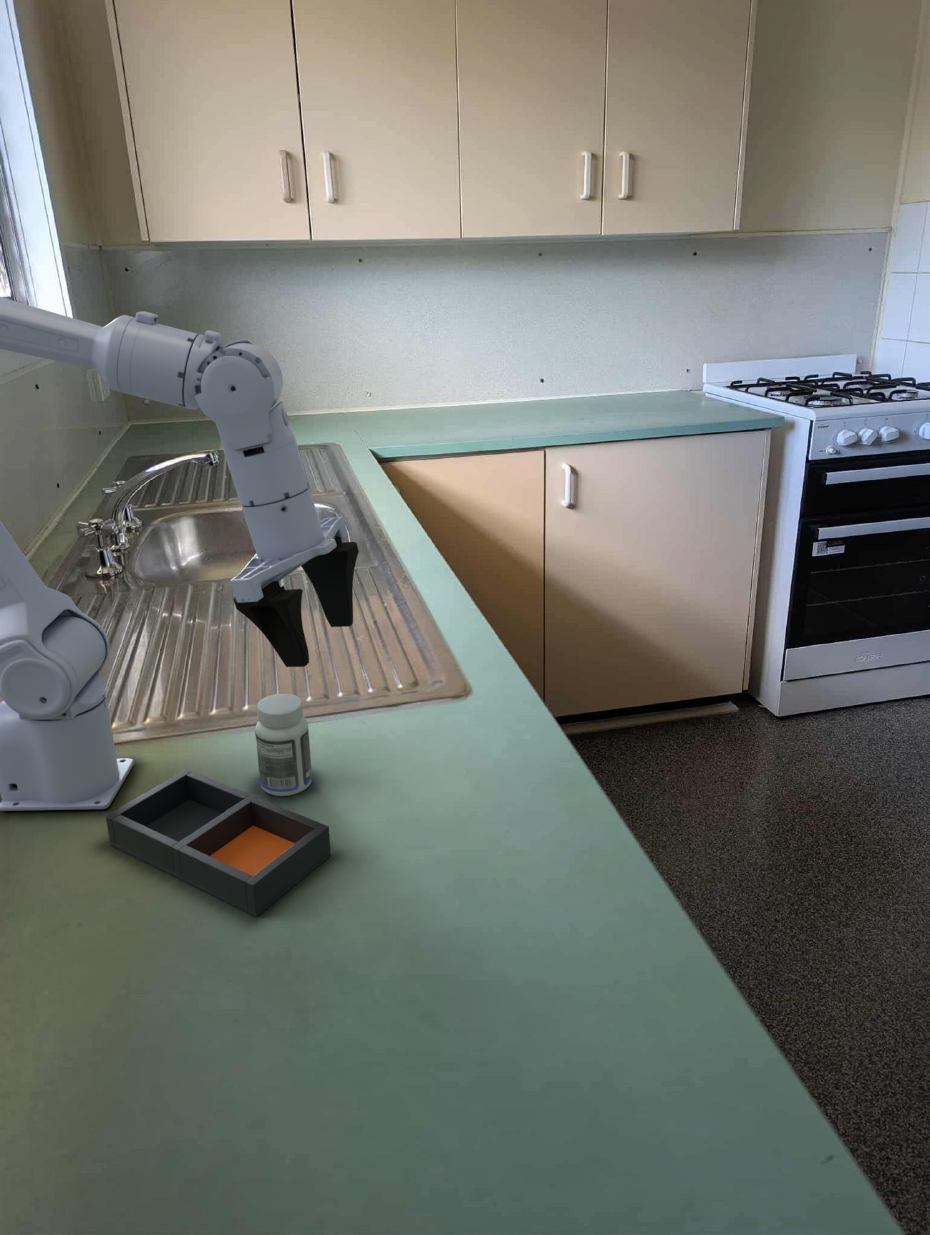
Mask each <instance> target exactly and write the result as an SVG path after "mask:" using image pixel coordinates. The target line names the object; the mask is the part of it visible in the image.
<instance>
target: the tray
mask: <svg viewBox="0 0 930 1235" xmlns="http://www.w3.org/2000/svg"><path fill="white" fill-rule="evenodd" d="M105 820H106V827H107V834H108V838H109V845H110V846H111V847H113V848H115V849H117V850H118V851H121V852H122V853H125V854H127V855H129V856H131V857H133V858H135V859H137V860H139V861H141V862H143V863H145V864H147V865H149V866H151V867H153V868H155V869H157V870H160V871H161V872H163V873H166V874H167V875H169V876H171V877H174V878H175V879H178V880H180V881H182V882H183V883H185V884H188V885H189V886H192V887H194V888H195V889H198V890H200V891H202V892H204V893H206V894H208V895H210V896H211V897H214V898H216V899H218V900H221V901H222V902H224V903H226V904H227V905H230V906H233V907H234V908H236V909H239V910H240V911H243V912H244V913H247V914H249V915H250V916H253V917H255V918H258V916H260V915H261V914H262V913H264V911H265V910H267V909H268V908H269V907H270V906H272V905H273V904H275V903H276V902H277V901H278V900H279V899H281V898H282V897H283V896H284V895H285V894H287V892H289V891H291V889H293V888H294V887H295V886H296V885H298V883H300V882H301V881H302V880H304V879H305V878H306V877H307V876H309V874H311V873H312V872H313V871H314V870H316V869H317V868H318V867H319V866H321V865H322V864H323V863H324V862H325V861H327V860H328V859H329V858H330V857H331V855H332V854H331V839H330V838H331V837H330V836H331V835H330V826H329V825H326V824H324V823H321V822H319V821H316V820H315V819H312V818H309V817H307V816H304V815H302V814H299V813H297V812H294V811H292V810H289V809H287V808H284V807H281V806H280V805H277V804H275V803H272V802H269V801H267V800H265V799H262V798H261V797H257V796H255V795H252V794H249V793H247V792H244V791H242V790H239V789H237V788H234V787H232V786H229V785H228V784H225V783H222V782H220V781H217V780H215V779H212V778H210V777H207V776H205V775H202V774H200V773H198V772H195V771H193V770H190V769H188V768H186V769H184V770H182V771H180V772H179V773H176V774H175V775H173V776H172V777H170V778H168V779H167V780H165V781H163V782H162V783H160V784H158V785H156V786H154V787H153V788H151V789H149V790H148V791H146V792H144V793H142V794H141V795H139V796H137V797H135V798H134V799H132V800H131V801H129V802H127V803H125V804H124V805H122V806H120V807H119V808H116V809H115V810H113V811H112V812H110V813H109V814H106V815H105Z"/></svg>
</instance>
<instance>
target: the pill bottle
mask: <svg viewBox="0 0 930 1235" xmlns="http://www.w3.org/2000/svg"><path fill="white" fill-rule="evenodd" d="M256 708H257V710H256V711H257V720H258V721H257V723H256V725H255V730H254V735H255V742H256V751H257V765H258V773H259V781H260V787H261V789H262V790H263V791H264V792H266V794H269V795H272V796H276V797H287V796H293V795H297V794H299V793H301V792H303V791H305V790H306V789H307V788H309V787H310V785H311V783H312V779H313V776H312V775H313V774H312V773H313V772H312V759H311V758H312V757H311V747H310V744H311V742H310V732H309V730H310V729H309V723H308V720H307V718H306V717H305V716H304V706H303V700H302V699H301V698H300V697H299V696H297V695H295V694H291V693H276V694H275V693H274V694H269V695H267V696H265V697H263V698H262V699H260V700H259V701H258V703H257V705H256Z"/></svg>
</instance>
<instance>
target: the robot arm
mask: <svg viewBox="0 0 930 1235" xmlns="http://www.w3.org/2000/svg"><path fill="white" fill-rule="evenodd" d="M221 340H222V333H220V332H217V331H215V330H211V329H210V330H209V329H208V330H206V331H205V333H204V334H201V333H196V332H192V331H189V330H184V329H181V328H177V327H173V326H169V325H165V324H161V323H159V315H158V314H156V313H152V312H148V311H144V310H143V311H137V312H136V313H135V316H130V315H127V314H123V315H120V316H118V317H116V318H115V319H113V320H112V321H111V322H110V323H108V324H106V325H105V326H101V325H98V324H95V323H91V322H87V321H84V320H80V319H77V318H73V317H70V316H66V315H63V314H60V313H56V312H54V311H49V310H46V309H43V308H39V307H36V306H33V305H29V304H26V303H23V302H19V301H15V300H13V299H10V298H5V297H1V296H0V350H3V351H8V352H11V353H12V352H13V353H17V354H22V355H27V356H31V357H36V358H41V359H46V360H50V361H55V362H59V363H65V364H69V365H75V366H79V367H83V368H89V369H92V370H94V371H96V373H97V374H98V375H99V377H100V378H101V379H102V380H103V382H104V383H105V384H106V386H107V387H108V388H109V389H110V390H112V391H114V392H117V393H121V394H126V395H130V396H134V397H137V398H143V399H146V400H150V401H155V402H158V403H162V404H167V405H171V406H175V407H179V408H183V409H187V410H190V411H195V410H197V409H200V410H201V411H202V413H203V414H204V415H205V417H207V418H208V419H210V421H212V422H213V423H215V425H216V429H217V431H218V432H217V433H218V434H219V435H218V436H219V437H220V441H221V444H222V447H223V455H224V457H225V460H226V463H227V466H228V471H229V473H230V476H231V479H232V482H233V485H234V489H235V491H236V495H237V497H238V500H239V504H240V507H241V509H242V513H243V516H244V519H245V522H246V525H247V529H248V532H249V535H250V539H251V541H252V544H253V547H254V550H255V554H254V555H253V556H252V558H251V559H250V560H249V561H248V562H247V564H246V565H245V566H244V567H243V569H241V571H240V572H239V573H237V575H235V576H234V577H233V578H231V579H230V580H229V582H230V586H231V589H232V592H233V595H234V596H233V599H232V601H233V603H234V605H235V609H236V610H237V611H238V612H240V613H241V615H243V616H245V617H246V618H247V619H248V620H249V621H251V622H252V623H253V624H254V625H255V627H256V628H257V629H258V630H259V631H260V632H261V633H262V634H263V636H264V637H265V638H266V639H267V640H268V642H269V643H270V645H271V646H272V648H273V649H274V651H275V652H276V654H277V655H278V657H279V658H280V660H281V661H282V663H283V664H284V666H285V667H286V668H303V667H304V668H305V667H306V666H307V665H309V664H310V654H309V648H308V643H307V639H306V636H305V632H304V626H303V625H304V624H303V616H302V599H303V591H304V590H303V589H302V588H292V589H286V588H285V585H282V586H281V584H280V582H281V581H282V580H284V579H285V578H286V577H288V576H290V575H291V574H292V573H294V572H295V571H296V570H298V569H299V568H301V569H302V570H303V571H304V573H305V574H306V576H307V578H308V580H309V581H310V583H311V585H312V587H313V588H314V589H313V590H314V591H315V593H316V595H317V597H318V600H319V603H320V606H321V608H322V612H323V614H324V616H325V619H326V620H327V623H328V624H329V626H330V628H342V627H344V628H345V627H349V628H350V627H351V626H352V625H353V624H354V602H353V600H354V599H353V598H354V596H353V593H354V591H353V587H354V575H355V569H356V563H357V559H358V556H359V553H360V551H359V547H358V546H359V545H358V543H357V542H355V541H345V542H343V541H344V540H346V539H347V538H348V537H349V532H348V530H347V526H346V521H345V518H344V516H334V517H324V518H323V519H322V520H320V519H319V516H318V511H317V509H316V506H315V502H314V498H313V494H312V492H311V491H312V490H311V488H310V485H309V484H310V483H309V481H308V478H307V474H306V470H305V467H304V463H303V459H302V457H301V456H302V455H301V453H300V450H299V447H298V443H297V440H296V436H295V433H294V431H293V430H292V428H291V426H290V420H289V416H288V413H287V411H286V407H285V404H284V402H283V400H281V401H279V399H280V397H281V394H282V391H283V385H284V383H283V382H284V380H283V373H282V370H281V367H280V365H279V363H278V361H277V360H276V358H275V357H274V356H273V354H271V353H270V352H269V351H268V350H266V349H265V348H264V347H262V346H259V345H256V344H254V343H252V342H251V341H250V340H248V339H239V340H234V341H231V342H228V343H227V344H225V345H223V344H222V341H221ZM278 401H279V402H278ZM110 650H111V646H110V640H109V636H108V634H107V632H106V631H105V629H104V627H102V626H101V625H100V623H99V622H98V621H96V620H95V619H93V618H92V617H91V616H90V615H89V616H88V615H87V614H86V613H85V612H83V611H81V609H79V608H78V607H77V605H76V604H75V603H74V601H73V600H72V598H71V596H69V595H68V594H66V593H64V592H61V591H59V590H56V589H54V588H51V587H49V586H47V585H45V583H44V582H43V580H42V579H41V578H40V575H38V573H37V571H36V570H35V569H34V567H33V566H32V565H31V563H30V561H29V560H28V559H27V557H26V556H25V553H24V552H22V550H21V548H20V547H19V545H18V544H17V543H16V541H15V540H14V538H13V537H12V535H11V534H10V532H9V531H8V530H7V528H6V527H5V525H4V523H3V522H2V521H1V520H0V698H1V700H2V701H1V702H0V797H1V801H0V811H1V812H13V811H14V812H16V811H17V812H19V811H20V812H21V811H24V812H25V811H68V810H69V811H71V810H72V811H73V810H74V811H75V810H79V811H81V810H106V809H108V808H109V807H110V806H111V804H112V803H113V801H114V799H115V798H116V796H117V794H118V792H119V791H120V789H121V787H122V785H123V783H124V782H125V780H126V778H127V777H128V775H129V773H130V772H131V770H132V768H133V766H134V764H135V760H134V759H133V758H118V757H117V752H116V746H115V739H114V733H113V726H112V721H111V714H110V706H109V702H108V694H107V689H106V686H105V683H104V681H103V679H102V673H101V668H102V667H103V666H104V665H105V664H106V662H107V660H108V659H109V656H110Z"/></svg>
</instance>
